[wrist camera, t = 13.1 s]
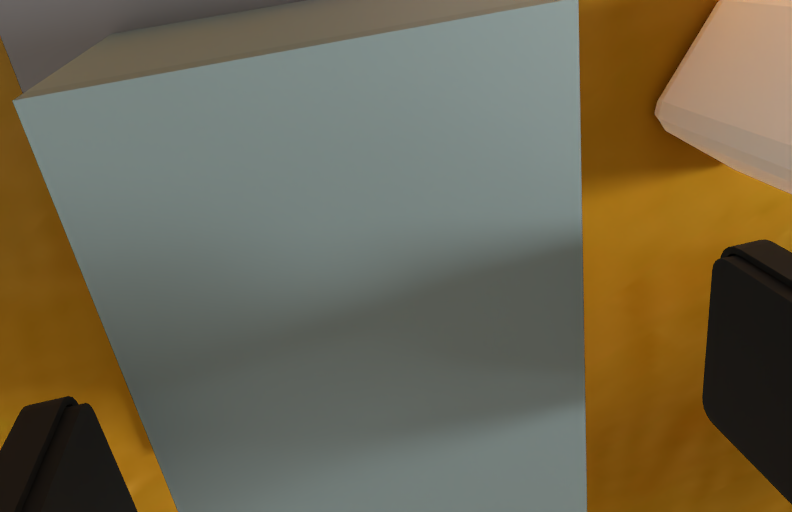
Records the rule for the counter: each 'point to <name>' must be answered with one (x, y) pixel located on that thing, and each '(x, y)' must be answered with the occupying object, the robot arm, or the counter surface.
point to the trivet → (91, 26)
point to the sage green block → (337, 249)
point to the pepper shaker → (738, 90)
